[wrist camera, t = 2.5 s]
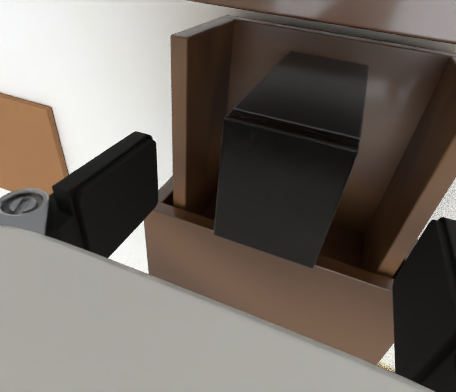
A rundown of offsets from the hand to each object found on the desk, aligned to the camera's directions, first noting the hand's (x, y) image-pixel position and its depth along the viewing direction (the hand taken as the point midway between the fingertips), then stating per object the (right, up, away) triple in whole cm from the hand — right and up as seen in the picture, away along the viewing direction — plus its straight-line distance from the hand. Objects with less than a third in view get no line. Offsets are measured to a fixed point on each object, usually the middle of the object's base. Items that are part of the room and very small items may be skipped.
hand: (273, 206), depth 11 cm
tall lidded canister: (+3, +5, +7) cm, 9 cm away
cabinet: (+3, -4, +16) cm, 17 cm away
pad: (-23, +5, +22) cm, 32 cm away
